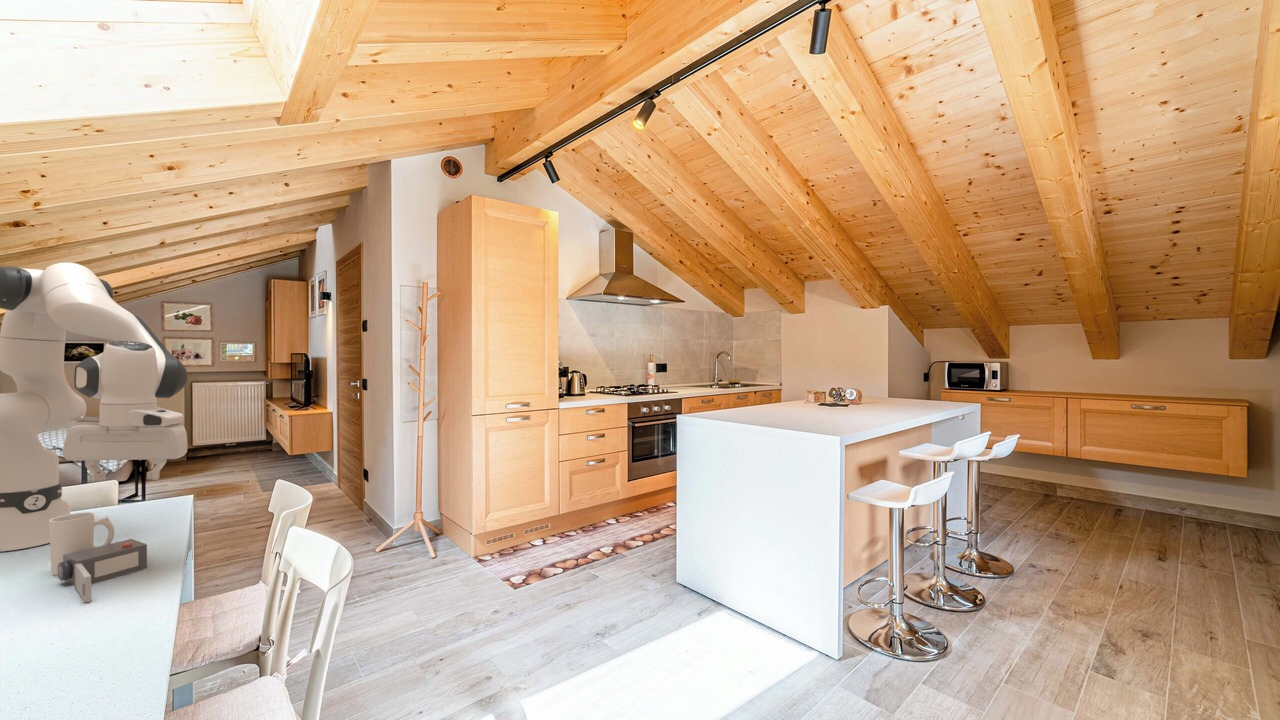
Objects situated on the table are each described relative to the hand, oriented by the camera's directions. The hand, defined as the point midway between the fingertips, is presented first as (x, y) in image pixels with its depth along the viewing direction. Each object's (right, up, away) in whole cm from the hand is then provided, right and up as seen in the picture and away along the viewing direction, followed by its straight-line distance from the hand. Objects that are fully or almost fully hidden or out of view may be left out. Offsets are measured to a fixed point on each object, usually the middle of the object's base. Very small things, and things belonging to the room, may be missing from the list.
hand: (126, 480), depth 111 cm
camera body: (-6, -21, +2) cm, 22 cm away
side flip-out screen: (-1, -21, -8) cm, 23 cm away
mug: (-15, -21, +5) cm, 27 cm away
